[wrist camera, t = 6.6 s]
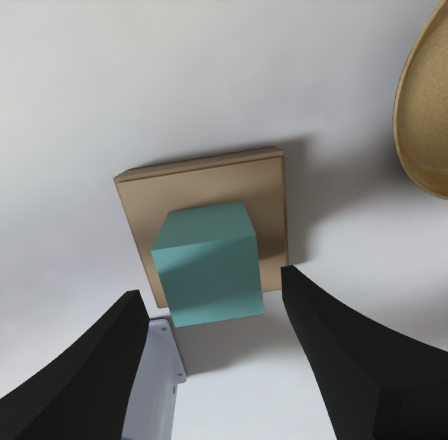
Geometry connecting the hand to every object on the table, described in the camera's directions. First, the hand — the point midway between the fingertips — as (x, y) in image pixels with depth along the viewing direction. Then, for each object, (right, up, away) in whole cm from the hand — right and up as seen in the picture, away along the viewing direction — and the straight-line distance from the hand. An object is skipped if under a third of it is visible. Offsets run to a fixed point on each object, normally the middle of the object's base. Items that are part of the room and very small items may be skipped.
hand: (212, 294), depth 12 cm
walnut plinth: (0, +3, +8) cm, 8 cm away
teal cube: (0, +2, +5) cm, 5 cm away
